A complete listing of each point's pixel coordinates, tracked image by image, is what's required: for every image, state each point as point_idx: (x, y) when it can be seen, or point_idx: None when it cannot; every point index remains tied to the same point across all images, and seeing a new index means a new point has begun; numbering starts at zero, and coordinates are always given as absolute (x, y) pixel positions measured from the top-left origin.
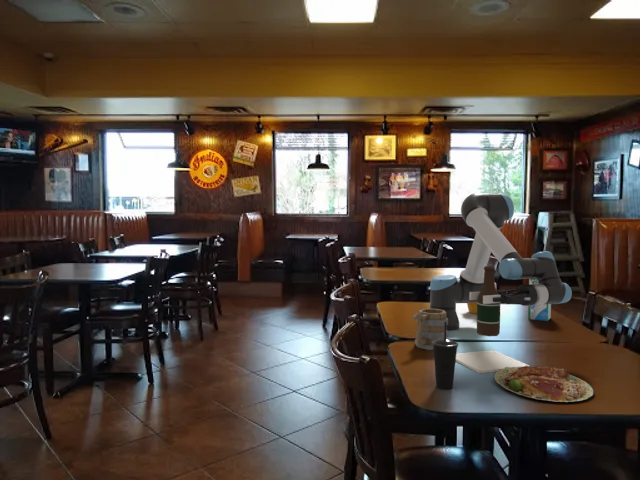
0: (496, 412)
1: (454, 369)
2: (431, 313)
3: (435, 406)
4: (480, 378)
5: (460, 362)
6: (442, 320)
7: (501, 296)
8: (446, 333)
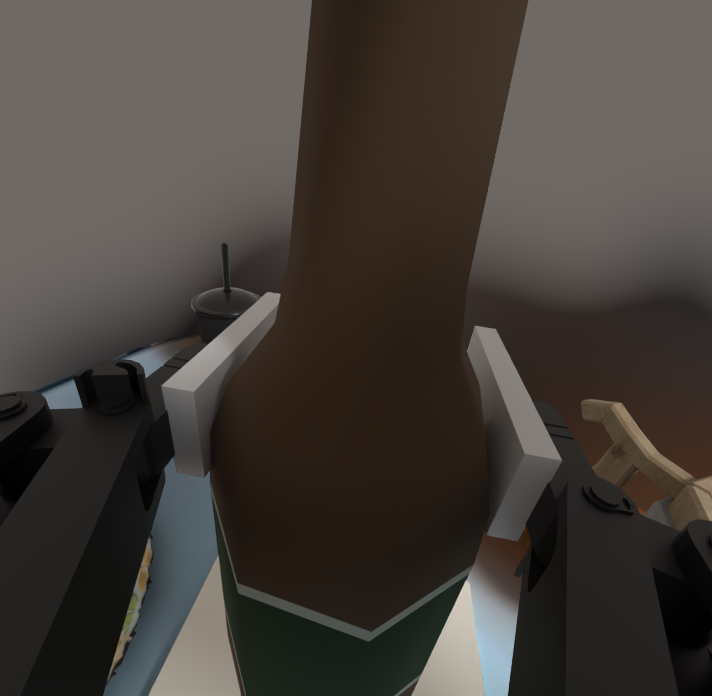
0: (67, 383)
1: None
2: (698, 491)
3: (187, 346)
4: (198, 501)
5: None
6: None
7: (146, 401)
8: (223, 276)
